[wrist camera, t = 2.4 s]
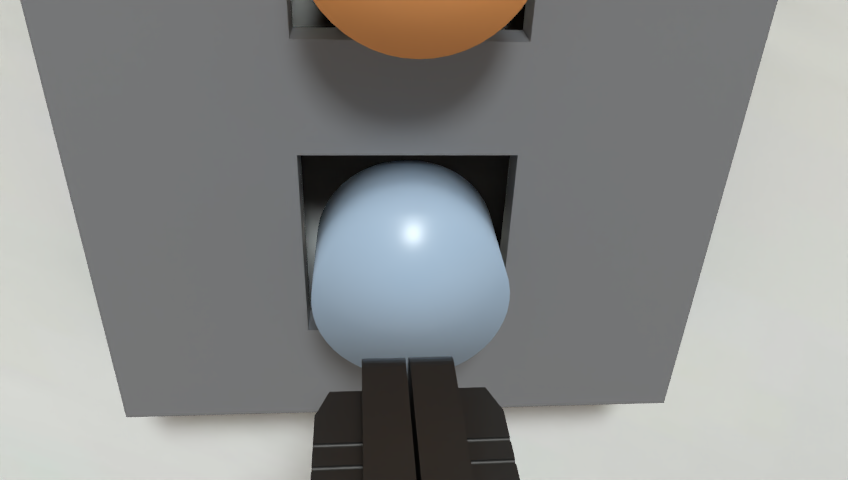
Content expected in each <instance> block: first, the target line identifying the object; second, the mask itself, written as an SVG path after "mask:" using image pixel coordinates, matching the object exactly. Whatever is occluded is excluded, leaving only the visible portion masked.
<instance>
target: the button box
mask: <svg viewBox="0 0 848 480" xmlns="http://www.w3.org/2000/svg"><path fill="white" fill-rule="evenodd" d="M20 1H21V4H22V8H23V12H24V16H25V20H26V24H27V28H28V32H29V36H30V40H31V44H32V48H33V52H34V56H35V60H36V63H37V67H38V71H39V75H40V79H41V83H42V87H43V91H44V95H45V99H46V103H47V107H48V111H49V115H50V119H51V122H52V126H53V130H54V134H55V138H56V142H57V146H58V150H59V154H60V158H61V162H62V166H63V170H64V174H65V178H66V181H67V185H68V189H69V193H70V197H71V201H72V205H73V209H74V213H75V217H76V221H77V225H78V229H79V233H80V236H81V240H82V244H83V248H84V252H85V256H86V260H87V264H88V268H89V272H90V276H91V280H92V284H93V288H94V292H95V295H96V299H97V303H98V307H99V311H100V315H101V319H102V323H103V327H104V331H105V335H106V339H107V343H108V347H109V351H110V354H111V358H112V362H113V366H114V370H115V374H116V378H117V382H118V386H119V390H120V394H121V398H122V402H123V406H124V410H125V413H126V417H149V416H186V415H224V414H261V413H298V412H317V411H318V410H319V408H320V406H321V405H322V403H323V402H324V400H325V398H326V397H327V395H328V393H329V392H339V391H362V368H361V367H359V366H357V365H355V364H353V363H351V362H349V361H348V360H346V359H345V358H343V357H342V356H341V355H339V354H338V353H337V352H336V351H334V350H333V349H332V348H331V346H330V345H329V344H328V343H327V342H326V341H325V339H324V338H323V336H322V335H321V334H320V332H319V330H318V328H317V326H316V323H315V320H314V317H313V313H312V310H310V297H309V281H308V265H307V249H306V233H305V217H304V201H303V184H302V168H301V155H510V159H509V168H508V178H507V187H506V197H505V206H504V216H503V226H502V235H501V245H500V252H501V255H502V259H503V262H504V266H505V269H506V273H507V276H508V279H509V287H510V301H509V306H508V311H507V314H506V316H505V319H504V321H503V323H502V325H501V327H500V329H499V331H498V332H497V333H496V335H495V336H494V337H493V339H492V340H491V341H490V342H489V343H488V344H487V345H486V346H485V347H484V348H483V349H482V350H481V351H479V352H478V353H477V354H476V355H474V356H473V357H471V358H470V359H468V360H467V361H465V362H463V363H461V364H459V365H457V366H455V371H456V377H457V383H458V388H471V387H486V389H487V390H488V391H489V393H490V394H491V395H492V396H493V398H494V399H495V400H496V401H497V403H498V404H499V405H500V406H501V407H522V406H560V405H597V404H634V403H664V400H665V396H666V393H667V389H668V386H669V382H670V379H671V375H672V372H673V368H674V365H675V361H676V358H677V354H678V350H679V347H680V343H681V340H682V336H683V333H684V329H685V326H686V322H687V319H688V315H689V312H690V308H691V305H692V301H693V298H694V294H695V290H696V287H697V283H698V280H699V276H700V273H701V269H702V266H703V262H704V259H705V255H706V252H707V248H708V245H709V241H710V238H711V234H712V230H713V227H714V223H715V220H716V216H717V213H718V209H719V206H720V202H721V199H722V195H723V192H724V188H725V185H726V181H727V178H728V174H729V170H730V167H731V163H732V160H733V156H734V153H735V149H736V146H737V142H738V139H739V135H740V132H741V128H742V125H743V121H744V118H745V114H746V110H747V107H748V103H749V100H750V96H751V93H752V89H753V86H754V82H755V79H756V75H757V72H758V68H759V65H760V61H761V58H762V54H763V50H764V47H765V43H766V40H767V36H768V33H769V29H770V26H771V22H772V19H773V15H774V12H775V8H776V5H777V1H778V0H527V2H526V6H525V15H524V25H523V30H499V31H498V32H497V33H496V34H494V35H493V36H492V37H490V38H488V39H487V40H485V41H484V42H482V43H480V44H478V45H476V46H474V47H472V48H470V49H468V50H465V51H462V52H459V53H456V54H453V55H450V56H444V57H439V58H432V59H409V58H400V57H395V56H390V55H386V54H383V53H380V52H377V51H375V50H372V49H370V48H368V47H366V46H364V45H362V44H360V43H358V42H356V41H355V40H353V39H351V38H350V37H348V36H347V35H345V34H344V33H343V32H342V31H340V30H339V29H338V28H326V27H293V24H292V7H291V0H20Z"/></svg>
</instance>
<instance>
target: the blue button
mask: <svg viewBox="0 0 848 480" xmlns="http://www.w3.org/2000/svg"><path fill="white" fill-rule="evenodd" d="M509 301H510V287H509V279H508V276H507V273H506V269H505V266H504V262H503V259H502V255H501V252H500V248H499V245H498V241H497V238H496V235H495V231H494V228H493V224H492V221H491V217H490V214H489V211H488V208H487V206H486V204H485V202H484V200H483V198H482V197H481V195H480V194H479V192H478V191H477V190H476V189H475V188H474V187H473V186H472V184H471V183H469V182H468V181H467V180H466V179H465V178H463V177H462V176H460V175H459V174H457V173H456V172H454V171H452V170H450V169H448V168H445V167H443V166H440V165H437V164H434V163H430V162H425V161H419V160H397V161H390V162H385V163H381V164H378V165H374V166H371V167H369V168H367V169H364V170H362V171H360V172H359V173H357V174H355V175H354V176H352V177H350V178H349V179H348V180H347V181H345V182H344V183H343V184H342V185H341V186H340V187H339V188H338V189H337V190H336V191H335V192H334V193H333V195H332V196H331V197H330V199H329V200H328V202H327V204H326V205H325V207H324V209H323V212H322V214H321V217H320V220H319V226H318V233H317V242H316V252H315V262H314V272H313V282H312V292H311V306H312V313H313V317H314V320H315V323H316V326H317V328H318V330H319V332H320V334H321V335H322V336H323V338H324V339H325V341H326V342H327V343H328V344H329V345H330V346H331V348H332V349H333V350H334V351H336V352H337V353H338V354H339V355H341V356H342V357H343V358H345V359H346V360H348V361H349V362H351V363H353V364H355V365H357V366H359V367H361V368H362V359H367V358H405V359H406V368H408V358H409V357H440V356H452V357H453V360H454V365H455V366H457V365H459V364H461V363H463V362H465V361H467V360H468V359H470V358H471V357H473V356H474V355H476V354H477V353H478V352H479V351H481V350H482V349H483V348H484V347H485V346H486V345H487V344H488V343H489V342H490V341H491V340H492V339H493V337H494V336H495V335H496V333H497V332H498V331H499V329H500V327H501V325H502V323H503V321H504V319H505V316H506V314H507V311H508V306H509Z"/></svg>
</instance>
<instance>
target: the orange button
mask: <svg viewBox="0 0 848 480" xmlns="http://www.w3.org/2000/svg"><path fill="white" fill-rule="evenodd" d="M313 1H314V2H315V4H316V5H317V7H318V8H319V10H320V11H321V12H322V13H323V14H324V15H325V16H326V17H327V18H328V20H329V21H330V22H331V23H332V24H333V25H335V26H336V27H337V28H338V29H339V30H340V31H342V32H343V33H344V34H345V35H347V36H348V37H350V38H351V39H353V40H355V41H356V42H358V43H360V44H362V45H364V46H366V47H368V48H370V49H372V50H375V51H377V52H380V53H383V54H386V55H390V56H395V57H400V58H409V59H432V58H439V57H444V56H450V55H453V54H456V53H459V52H462V51H465V50H468V49H470V48H472V47H474V46H476V45H478V44H480V43H482V42H484V41H485V40H487V39H488V38H490V37H492V36H493V35H494V34H496V33H497V32H498V31H499V30H501V29H502V28H503V27H504V26H506V25H507V24H508V23H509V22H510V21H511V20H512V19H513V18H514V16H515V15H516V14H517V13H518V12H519V11H520V10H521V8H522V7H523V6H524V4H525V3H526V2H527V0H313Z"/></svg>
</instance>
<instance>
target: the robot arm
mask: <svg viewBox="0 0 848 480" xmlns="http://www.w3.org/2000/svg"><path fill="white" fill-rule="evenodd" d="M311 480H520V478H519V474H518V470H517V466H516V464H515V457H514V453H513V449H512V445H511V442H510V436H509V432H508V428H507V423H506V419H505V415H504V411H503V409H502V408H501V406H500V405H499V404H498V403H497V401H496V400H495V399H494V398H493V396H492V395H491V394H490V393H489V391H488V390H487V389H486V387H471V388H458V383H457V377H456V371H455V365H454V360H453V357H452V356H440V357H409V358H408V368H406V359H405V358H367V359H362V391H339V392H329V393H328V395H327V397H326V398H325V400H324V402H323V403H322V405H321V406H320V408H319V410H318V411H317V413H316V415H315V420H314V437H313V453H312V472H311Z"/></svg>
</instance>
